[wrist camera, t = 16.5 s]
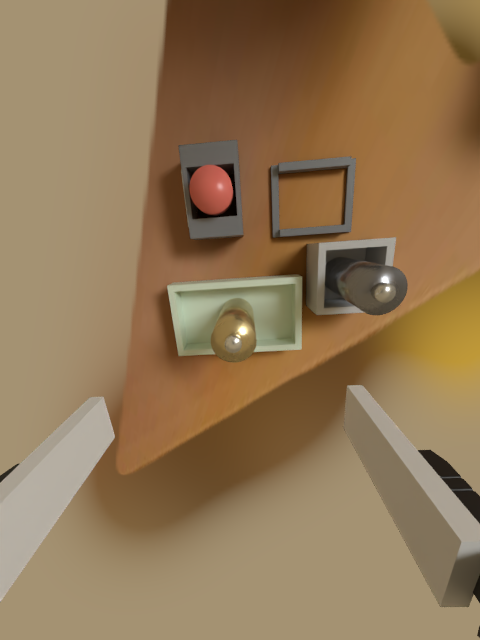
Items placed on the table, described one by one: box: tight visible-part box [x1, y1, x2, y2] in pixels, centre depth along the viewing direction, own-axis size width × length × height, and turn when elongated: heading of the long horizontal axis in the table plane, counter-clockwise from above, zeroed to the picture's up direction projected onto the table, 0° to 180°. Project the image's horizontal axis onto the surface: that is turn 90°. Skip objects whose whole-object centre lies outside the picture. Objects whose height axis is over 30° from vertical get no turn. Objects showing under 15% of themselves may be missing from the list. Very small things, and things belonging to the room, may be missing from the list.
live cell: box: [211, 298, 257, 362], centre depth 26 cm, size 4×4×11 cm
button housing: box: [179, 140, 243, 240], centre depth 26 cm, size 9×7×4 cm
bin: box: [306, 237, 396, 315], centre depth 28 cm, size 8×8×5 cm
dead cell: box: [325, 257, 407, 315], centre depth 24 cm, size 4×4×11 cm
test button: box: [189, 165, 233, 216], centre depth 24 cm, size 4×4×2 cm
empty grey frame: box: [271, 157, 356, 238], centre depth 27 cm, size 8×10×1 cm
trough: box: [167, 274, 302, 356], centre depth 31 cm, size 10×17×3 cm, turn 94°
